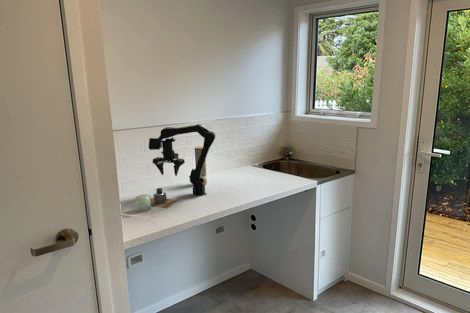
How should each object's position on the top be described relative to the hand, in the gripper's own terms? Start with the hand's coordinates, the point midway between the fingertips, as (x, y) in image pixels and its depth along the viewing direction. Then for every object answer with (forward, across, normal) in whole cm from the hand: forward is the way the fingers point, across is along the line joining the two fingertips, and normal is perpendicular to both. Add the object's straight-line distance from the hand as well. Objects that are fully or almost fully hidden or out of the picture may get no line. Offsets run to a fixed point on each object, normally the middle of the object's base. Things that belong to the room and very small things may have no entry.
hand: (169, 175), depth 211 cm
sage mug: (+13, 0, +26) cm, 29 cm away
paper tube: (+13, -6, -28) cm, 32 cm away
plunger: (+11, -2, +14) cm, 18 cm away
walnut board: (+13, -2, +14) cm, 19 cm away
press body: (+12, -2, +14) cm, 18 cm away
